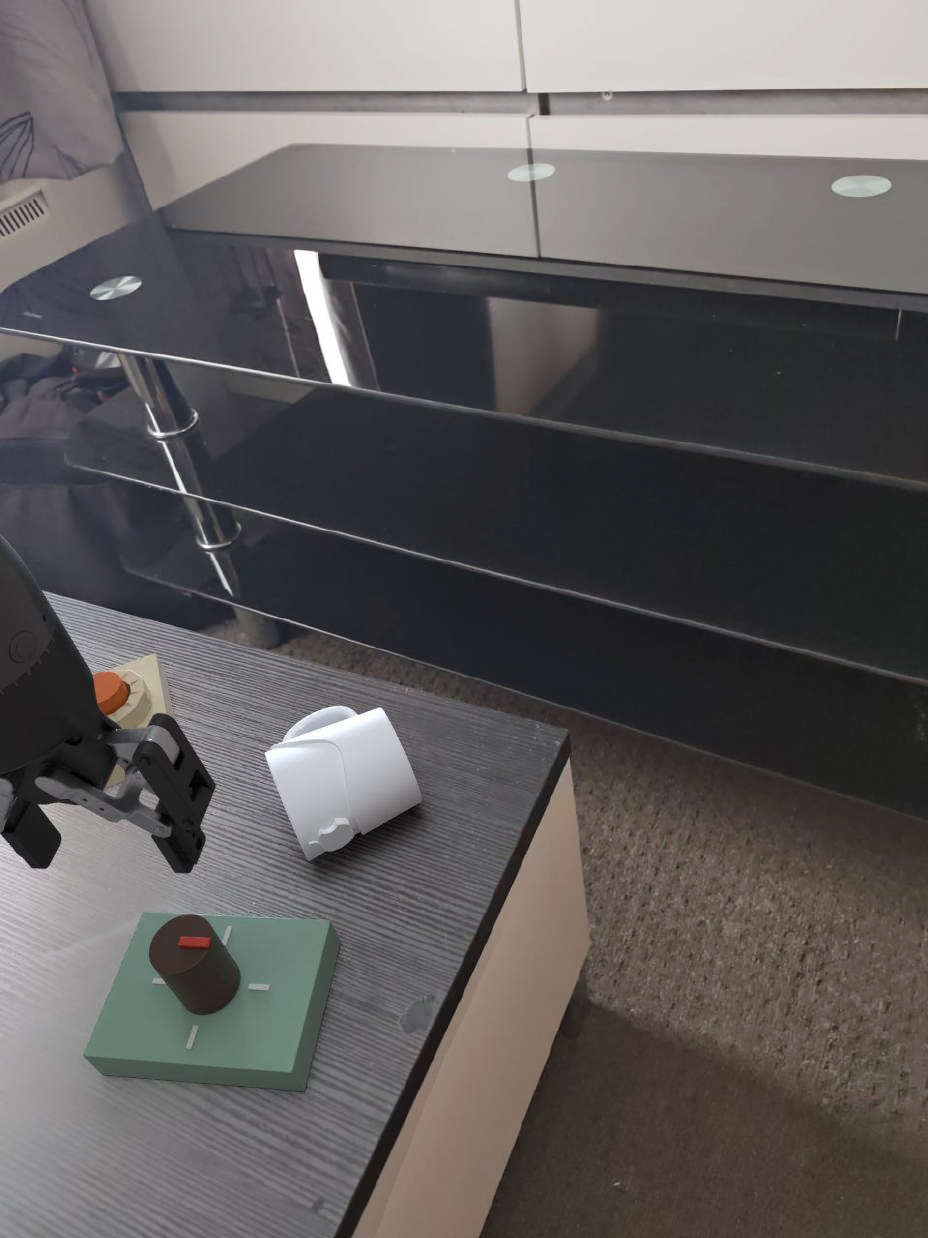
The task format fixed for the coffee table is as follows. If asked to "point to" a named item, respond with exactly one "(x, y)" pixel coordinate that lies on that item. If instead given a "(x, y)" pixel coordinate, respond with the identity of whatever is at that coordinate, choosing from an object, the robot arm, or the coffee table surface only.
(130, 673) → the base
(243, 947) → the dial panel
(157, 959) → the dial knob
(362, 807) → the mug
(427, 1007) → the coffee table surface
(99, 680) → the orange push button
